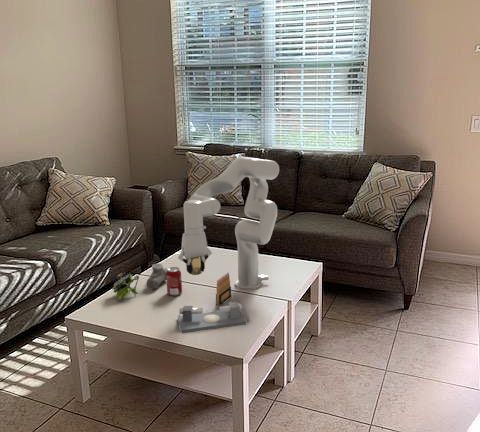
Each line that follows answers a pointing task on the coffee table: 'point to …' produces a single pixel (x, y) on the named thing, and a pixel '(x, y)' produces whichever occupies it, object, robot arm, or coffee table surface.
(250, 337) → the coffee table surface
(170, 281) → the soda can
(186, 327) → the shaft rig
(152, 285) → the pipe fitting
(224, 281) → the ammunition clip
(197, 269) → the tan rounded cylinder
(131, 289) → the passion flower
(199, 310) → the grey block on rod
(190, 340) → the coffee table surface
